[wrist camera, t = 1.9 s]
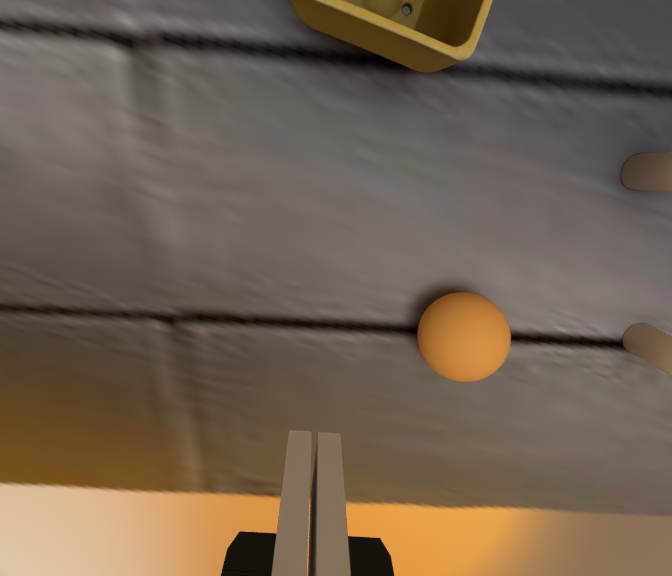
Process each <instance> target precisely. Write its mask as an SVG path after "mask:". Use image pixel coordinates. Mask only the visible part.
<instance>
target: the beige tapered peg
mask: <svg viewBox="0 0 672 576" xmlns="http://www.w3.org/2000/svg"><path fill="white" fill-rule="evenodd" d="M621 180H622V183H623V184H624V186H626V187H627V188H629V189H632V190H647V191H663V192H672V152H657V153H639V154H636V155H633V156H632V157H630V158H629V159H628V160H627V161H626V162H625V164H624V165H623V167H622V170H621Z"/></svg>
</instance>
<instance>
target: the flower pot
mask: <svg viewBox="0 0 672 576" xmlns="http://www.w3.org/2000/svg"><path fill="white" fill-rule="evenodd" d="M289 1H290V3H291V5H292V7H293V9H294V11H295V13H296V14H297V16H298V17H299V18H300V20H301V21H302V22H304V23H305V24H306V25H308V26H309V27H311V28H313V29H315V30H318V31H320V32H323V33H325V34H328V35H330V36H333V37H336V38H338V39H341V40H343V41H346V42H348V43H351V44H353V45H356V46H358V47H361V48H363V49H366V50H368V51H371V52H373V53H375V54H378V55H380V56H383V57H385V58H387V59H390V60H392V61H395V62H397V63H399V64H402V65H404V66H406V67H408V68H411V69H413V70H416V71H419V72H424V73H431V72H435V71H438V70H440V69H443V68H446V67H448V66H451V65H453V64H456V63H458V62H461V61H464V60H466V59H468V58H469V57H470V56H471V55H472V54H473V52H474V50H475V47H476V45H477V42H478V40H479V37H480V34H481V32H482V29H483V26H484V23H485V20H486V18H487V15H488V12H489V9H490V6H491V4H492V1H493V0H289ZM406 4H407V5H409V6H410V7H411V13H410V14H408V15H405V14H404V13H403V12H402V7H403V6H404V5H406Z"/></svg>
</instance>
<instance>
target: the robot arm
mask: <svg viewBox="0 0 672 576" xmlns="http://www.w3.org/2000/svg"><path fill="white" fill-rule="evenodd" d="M311 438H312V432H311V431H298V430H289V436H288V444H287V453H286V461H285V469H284V477H283V485H282V493H281V502H280V510H279V518H278V526H277V534H274V533H258V532H239V533H238V535H237V536H236V538H235V539H234V540H233V542H232V543H231V544H230V546H229V547H228V549H227V553H226V557H225V561H224V565H223V569H222V574H221V576H307V551H308V521H309V520H308V519H309V495H310V466H311ZM308 576H394V572H393V566H392V561H391V556H390V554H389V553H388V551H387V549H386V547H385V546H384V544H383V542H382V541H381V539H380V538H369V537H352V536H348V533H347V519H346V504H345V491H344V477H343V464H342V450H341V436H340V434H339V433H325V432H318V437H317V446H316V454H315V463H314V472H313V481H312V490H311V500H310V533H309V565H308Z"/></svg>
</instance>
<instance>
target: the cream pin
mask: <svg viewBox="0 0 672 576" xmlns="http://www.w3.org/2000/svg"><path fill="white" fill-rule="evenodd" d="M622 342H623V346H624V348H625V349H626V350H628V351H630V352H631V353H633V354H635V355H636V356H638V357H640V358H641V359H643V360H645V361H647V362H648V363H650V364H652V365H653V366H655V367H657V368H658V369H660V370H662V371H664V372H665V373H667V374H669V375H670V376H672V336H670V335H668V334H666V333H664V332H662V331H659V330H657V329H655V328H653V327H651V326H649V325H647V324H643V323H640V324H636V325H633V326H631V327H630V328H629V329H628V330H627V331H626V332H625V334H624V336H623V340H622Z"/></svg>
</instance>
